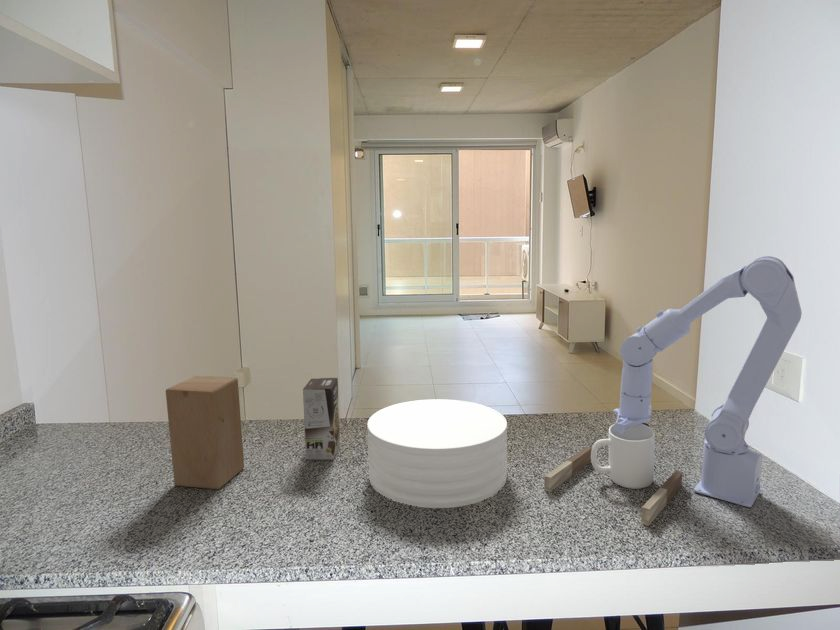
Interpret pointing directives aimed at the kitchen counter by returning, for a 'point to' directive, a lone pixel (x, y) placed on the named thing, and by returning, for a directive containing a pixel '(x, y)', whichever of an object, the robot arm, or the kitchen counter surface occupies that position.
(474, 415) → the plate stack
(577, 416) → the kitchen counter surface
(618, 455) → the cup
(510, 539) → the kitchen counter surface
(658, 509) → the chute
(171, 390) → the wooden block
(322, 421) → the coffee box
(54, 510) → the kitchen counter surface
